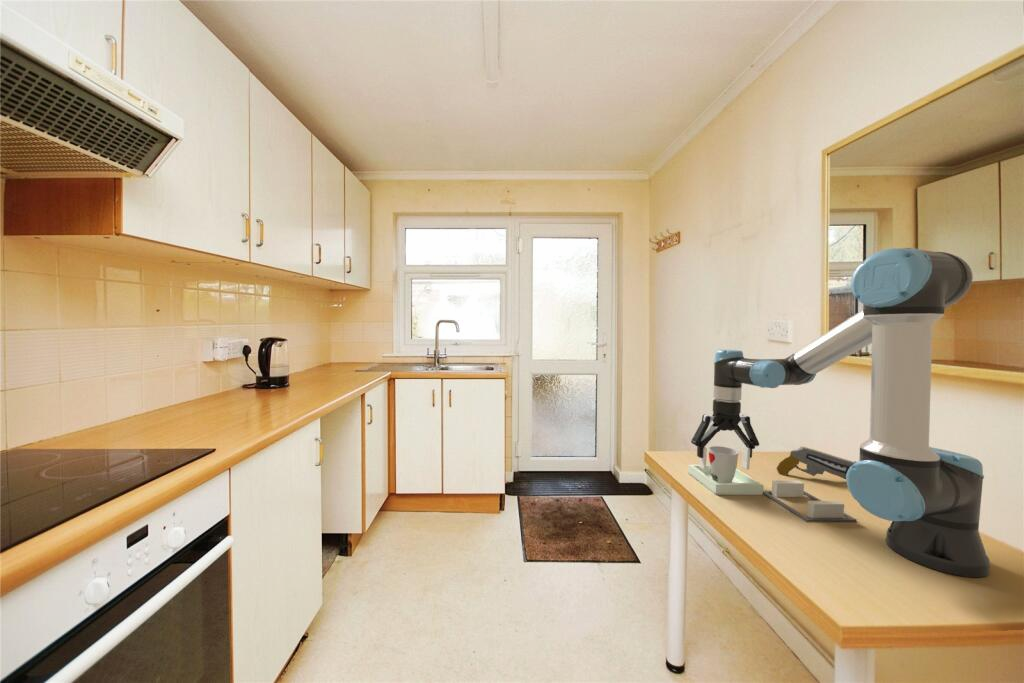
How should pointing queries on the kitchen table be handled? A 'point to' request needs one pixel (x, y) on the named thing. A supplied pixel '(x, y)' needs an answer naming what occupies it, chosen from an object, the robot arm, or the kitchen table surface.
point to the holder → (809, 503)
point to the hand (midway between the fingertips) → (723, 467)
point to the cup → (722, 463)
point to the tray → (739, 484)
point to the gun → (814, 463)
